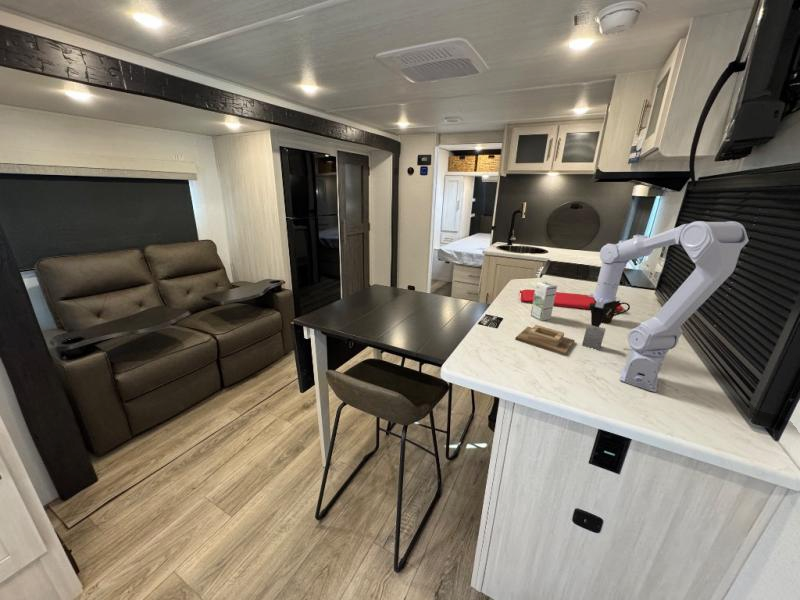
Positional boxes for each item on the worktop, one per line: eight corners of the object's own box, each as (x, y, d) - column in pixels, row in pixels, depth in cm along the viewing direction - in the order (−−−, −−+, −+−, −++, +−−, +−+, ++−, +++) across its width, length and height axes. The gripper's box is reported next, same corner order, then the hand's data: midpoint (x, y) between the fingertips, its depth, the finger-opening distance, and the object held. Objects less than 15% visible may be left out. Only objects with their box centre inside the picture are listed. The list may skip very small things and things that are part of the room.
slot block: (564, 355, 97) (567, 346, 96) (515, 339, 107) (516, 330, 106) (574, 342, 106) (576, 333, 105) (527, 328, 116) (528, 320, 114)
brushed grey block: (598, 350, 101) (604, 331, 98) (581, 345, 104) (586, 327, 102) (600, 347, 103) (605, 328, 101) (583, 342, 106) (588, 324, 104)
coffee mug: (585, 319, 125) (591, 296, 122) (593, 314, 130) (599, 292, 127) (618, 329, 117) (625, 304, 113) (625, 323, 122) (632, 300, 118)
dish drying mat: (519, 293, 157) (520, 286, 155) (610, 303, 145) (612, 295, 144) (520, 303, 142) (522, 296, 141) (622, 315, 131) (624, 307, 130)
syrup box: (551, 319, 125) (558, 285, 120) (540, 321, 123) (546, 286, 118) (540, 313, 130) (546, 281, 125) (529, 315, 128) (535, 282, 123)
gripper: (597, 275, 103) (588, 312, 108) (588, 284, 93) (578, 325, 98) (622, 279, 99) (612, 318, 104) (616, 290, 89) (604, 332, 93)
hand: (597, 322), depth 100 cm, fingers open, 7 cm apart
